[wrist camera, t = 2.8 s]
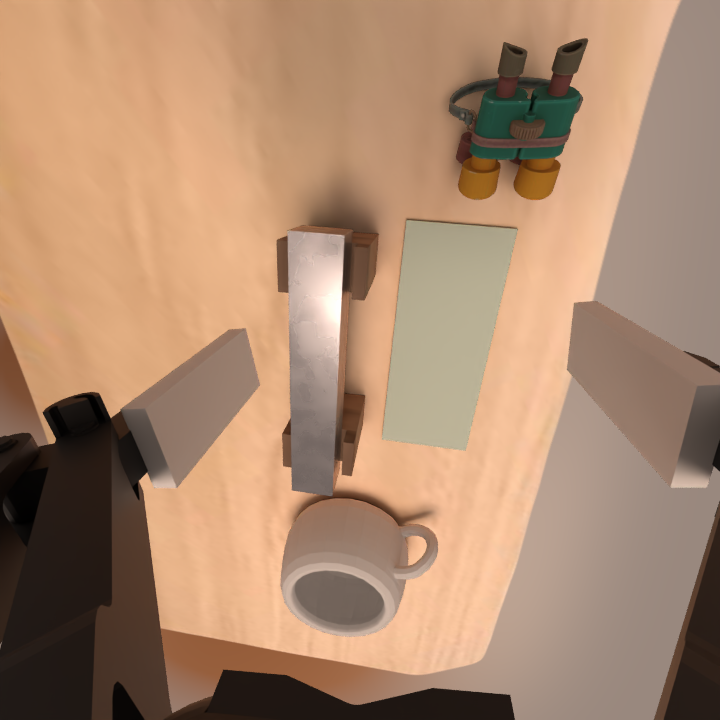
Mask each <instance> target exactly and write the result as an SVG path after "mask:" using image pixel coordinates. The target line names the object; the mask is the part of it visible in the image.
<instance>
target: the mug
mask: <svg viewBox="0 0 720 720" xmlns="http://www.w3.org/2000/svg"><path fill="white" fill-rule="evenodd" d="M408 536H420V537H423V538H424V539H425V540H426V543H427V549H426V551H425V553H424V555H423V556H422V558H421V559H420V560H418V561H417V562H416V563H415V564H413V565H410V566H408V548H407V543H406V539H405V537H408ZM437 553H438V542H437V538H436V535H435V534H434V532H433V531H431V530H430V529H429V528H427V527H425V526H423V525H418V524H409V525H404V526H398V524H397V522H396V521H395V520H394V519H393V518H392V517H391V516H390V515H388V514H387V513H385V512H384V511H383V510H381V509H380V508H377V507H375V506H373V505H371V504H369V503H366V502H363V501H359V500H355V499H344V498H334V499H328V500H323V501H319V502H317V503H315V504H313V505H310V506H308V507H307V508H306V509H305V510H304V511H303V512H301V513H300V514H299V516H298V518H297V519H296V521H295V522H294V524H293V526H292V528H291V529H290V531H289V534H288V538H287V541H286V545H285V550H284V555H283V562H282V571H281V590H282V594H283V598H284V602H285V604H286V605H287V607H288V608H289V610H290V612H291V613H293V614H294V615H295V616H296V617H297V618H298V619H299V620H300V621H302V622H304V623H305V624H307V625H308V626H310V627H312V628H314V629H317V630H319V631H321V632H324V633H328V634H332V635H336V636H347V637H356V636H365V635H369V634H373V633H376V632H378V631H379V630H381V629H383V628H385V627H386V626H387V625H388V624H389V623H390V622H391V620H392V619H393V618H394V616H395V614H396V613H397V610H398V607H399V604H400V601H401V598H402V595H403V592H404V588H405V583H406V579H414V578H417V577H419V576H421V575H422V574H424V573H425V572H426V571H427V570H428V569H429V568H430V567H431V566H432V564H433V563H434V561H435V559H436V557H437Z"/></svg>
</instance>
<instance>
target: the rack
mask: <svg viewBox="0 0 720 720" xmlns="http://www.w3.org/2000/svg"><path fill="white" fill-rule="evenodd" d="M378 235H379V234H370V233H358V232H353V238H352V256H351V275H350V292H352V299H355V300H365V298H366V296H367V293H368V291H369V289H370V287H371V284H372V282H373V280H374V277H375V271H376V259H377V247H378ZM277 270H278V292H286V293H289V286H288V236H286V237H283V238H280V239H278V240H277ZM364 404H365V396H363V395H355V394H346V393H344V403H343V421H342V439H341V457H340V461H342V475H347V476H352V472H353V467H354V463H355V458H356V453H357V449H358V444H359V439H360V435H361V430H362V426H363V416H364ZM282 441H283V466H285V467H292V464H291V419H290V420H289V422H288V424H287V426H286V428H285V430H284V432H283V434H282Z"/></svg>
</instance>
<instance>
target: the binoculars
mask: <svg viewBox="0 0 720 720" xmlns="http://www.w3.org/2000/svg"><path fill="white" fill-rule="evenodd" d="M587 43H588V39H586V38H584V39H579V40H576V41H573V42H570V43H568V44H565V45H563V46H561V47H559V48H558V50H557V53H556V56H555V60H554V63H553V66H552V71H553V75H552V79H551V80H547V79H539V78H527V77H519V75H521V74H522V73H523V69H524V65H525V61H526V57H527V51H526V50H525V49H523V48H520V47H517V46H514V45H511V44H509V43H506V42H504V43H503V48H502V53H501V58H500V63H499V68H498V74H499V75H500V76H499V78H495V79H488V80H482V81H477V82H474V83H470V84H468V85H466V86H464V87H462V88H460V89H459V90H457V91H456V92H455V93H454V94H453V95H452V97H451V98H450V104H449V112H450V114H452V115H453V116H455V117H457V118H459V120H463V121H465V124H466V125H467V130H468V132H466V133H464V134H463V135H462V136H461V140H460V144H459V148H458V151H457V155H456V159H457V160H458V161H459V162H460V163H462V164H463V166H462V170H461V174H460V178H459V183H458V187H459V190H460V192H461V193H462V194H463V195H464V196H466V197H467V198H470V199H474V200H482V199H486V198H488V197H490V196H491V195H492V194H493V193H494V192H495V191H496V188H497V182H498V177H499V172H500V163H499V162H498V161H497V159H498V160H510V161H512V162H513V163H515V164H518V165H520V167H519V170H518V172H517V175H516V177H515V180H514V188H515V191H516V192H517V193H518V194H519V195H520V196H522V197H524V198H526V199H530V200H540V199H543V198H546V197H547V196H549V195H550V194H551V193H552V191H553V188H554V185H555V182H556V179H557V176H558V173H559V170H560V166H561V165H560V163H559V162H558V161H557V160H555V157H556V156H558V155H560V154H561V153H562V151H563V148H564V145H565V142H566V141H567V140H568V138H569V134H570V131H571V129H570V126H571V123H572V120H573V117H574V114H576V113H577V112H578V111H579V109H580V106H581V103H582V101H583V97H582V95H581V94H580V93H579V91H577V90H576V89H575V88H573V87H570V83H571V80H572V77H573V74H575V73H576V72H577V71H578V68H579V65H580V62H581V60H582V57H583V54H584V51H585V48H586V45H587ZM518 87H520V88H518ZM522 88H534V89H535V90H534V91H533V93H532V96H531V99H528V98H527V96H528V93H527V91H526V90H524V89H522ZM487 89H489V90H487ZM481 90H487V91H486V92H485V93H484V95H483V98H482V102H481V106H480V110H479V114H478V118H477V115H476V113H475V112H474V110H472V109H471V110H467V109H464V108H460V107H458V106H456V105H454V103H455V102H456V101H458V100H459V99H460V98H462V97H463V96H465V95H467V94H470V93H473V92H477V91H481ZM473 115H474V118H475V119H474V120H473ZM472 121H473V123H472ZM471 124H472V127H471V129H472V130H470V129H469V125H471Z"/></svg>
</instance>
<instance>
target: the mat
mask: <svg viewBox="0 0 720 720" xmlns="http://www.w3.org/2000/svg"><path fill="white" fill-rule="evenodd" d="M517 231H518V229H515V228H503V227H490V226H478V225H465V224H453V223H441V222H428V221H416V220H406V229H405V238H404V247H403V256H402V264H401V273H400V282H399V291H398V300H397V309H396V318H395V327H394V336H393V345H392V354H391V362H390V371H389V380H388V389H387V398H386V407H385V416H384V425H383V434H382V440H389V441H396V442H404V443H411V444H419V445H426V446H434V447H441V448H448V449H456V450H463V451H466V447H467V443H468V439H469V435H470V430H471V426H472V422H473V418H474V413H475V409H476V405H477V401H478V396H479V392H480V388H481V384H482V379H483V375H484V371H485V367H486V362H487V358H488V354H489V350H490V345H491V341H492V337H493V333H494V328H495V324H496V320H497V316H498V311H499V307H500V303H501V299H502V294H503V290H504V286H505V282H506V277H507V273H508V269H509V265H510V260H511V256H512V252H513V248H514V243H515V239H516V235H517Z"/></svg>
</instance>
